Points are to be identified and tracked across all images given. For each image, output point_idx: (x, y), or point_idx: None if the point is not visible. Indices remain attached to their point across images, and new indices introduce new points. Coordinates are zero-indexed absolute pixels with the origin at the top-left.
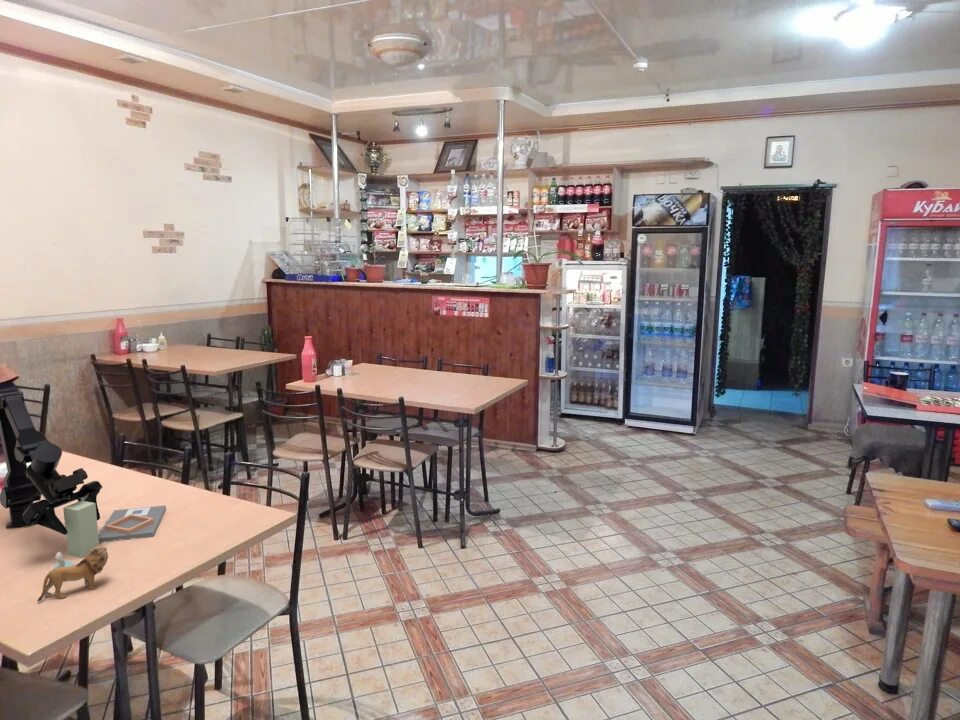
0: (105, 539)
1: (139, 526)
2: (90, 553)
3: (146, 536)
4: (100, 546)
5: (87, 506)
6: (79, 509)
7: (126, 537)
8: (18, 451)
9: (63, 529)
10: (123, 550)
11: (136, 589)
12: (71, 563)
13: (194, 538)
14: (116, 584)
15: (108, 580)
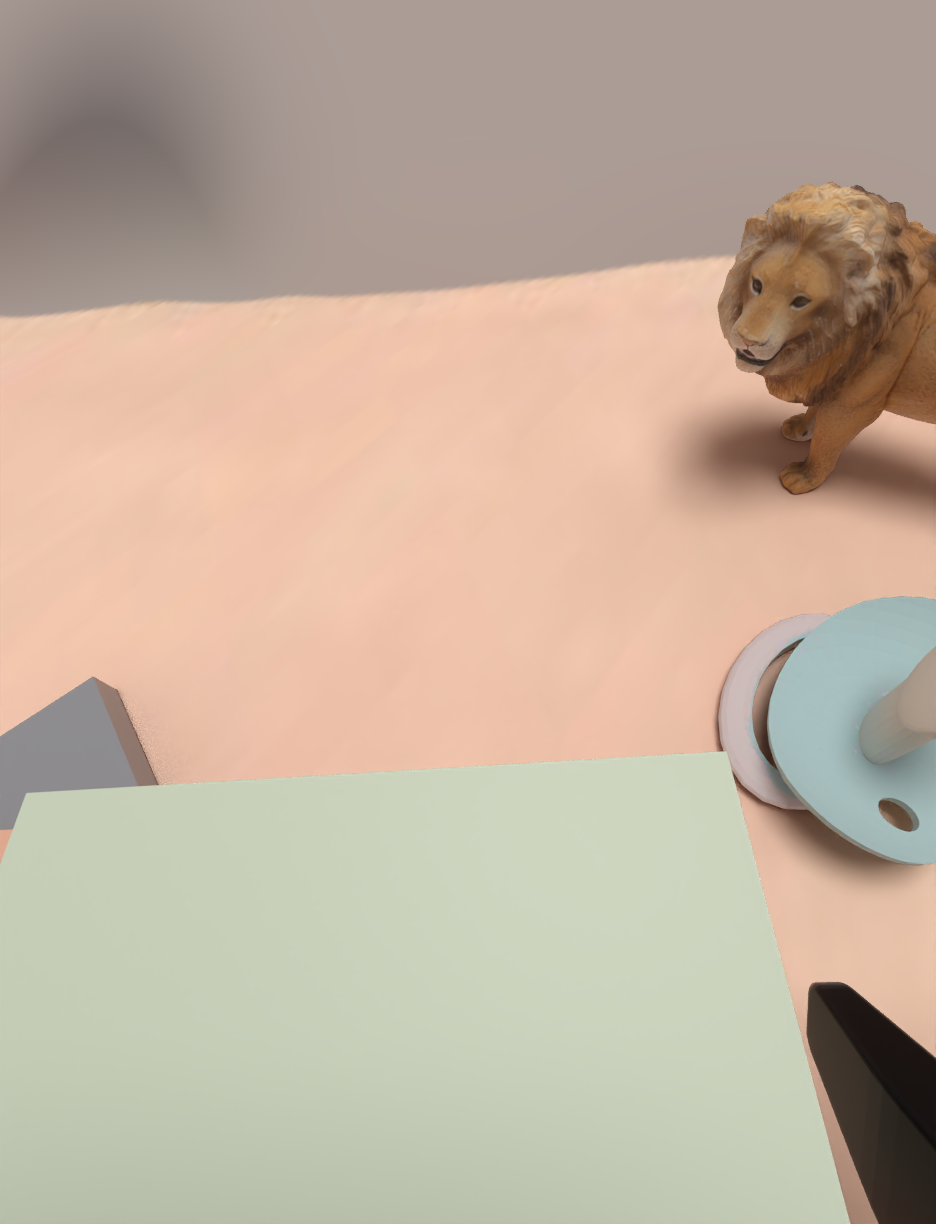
0: None
1: (5, 833)
2: (901, 207)
3: (127, 725)
4: (797, 205)
5: (322, 779)
6: (640, 773)
7: None
8: None
9: (921, 1051)
10: (363, 693)
11: (667, 298)
12: (786, 759)
13: (129, 467)
14: (695, 384)
15: (695, 441)
